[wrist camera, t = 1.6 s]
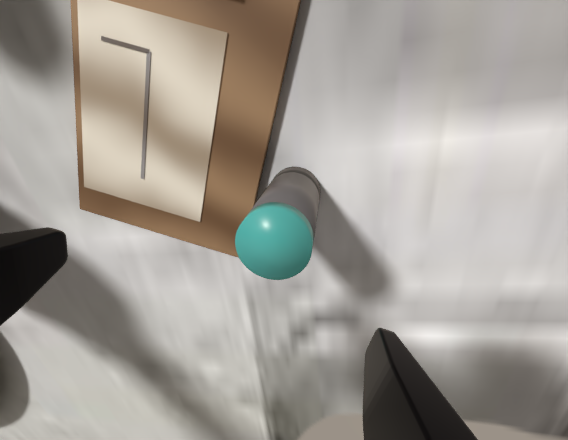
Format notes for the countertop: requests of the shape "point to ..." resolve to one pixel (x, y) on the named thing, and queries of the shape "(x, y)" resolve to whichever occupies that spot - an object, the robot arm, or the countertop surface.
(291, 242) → the marker
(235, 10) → the clipboard
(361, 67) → the countertop surface
